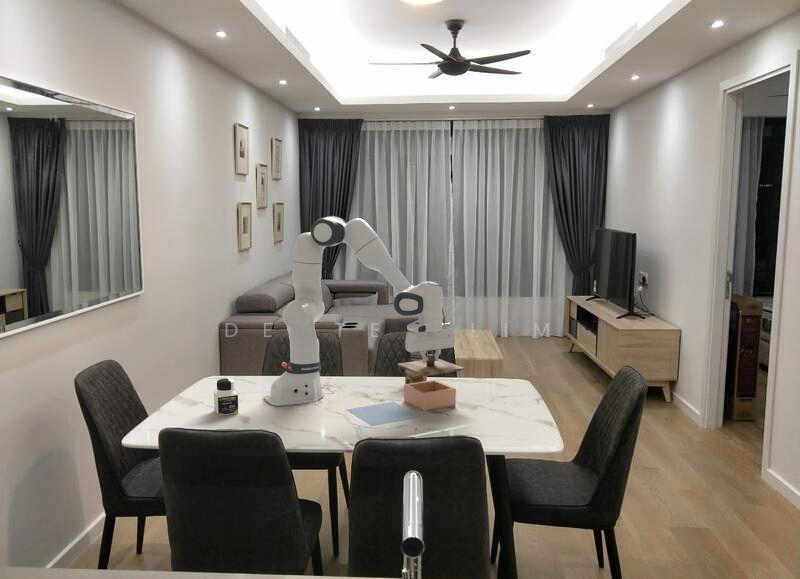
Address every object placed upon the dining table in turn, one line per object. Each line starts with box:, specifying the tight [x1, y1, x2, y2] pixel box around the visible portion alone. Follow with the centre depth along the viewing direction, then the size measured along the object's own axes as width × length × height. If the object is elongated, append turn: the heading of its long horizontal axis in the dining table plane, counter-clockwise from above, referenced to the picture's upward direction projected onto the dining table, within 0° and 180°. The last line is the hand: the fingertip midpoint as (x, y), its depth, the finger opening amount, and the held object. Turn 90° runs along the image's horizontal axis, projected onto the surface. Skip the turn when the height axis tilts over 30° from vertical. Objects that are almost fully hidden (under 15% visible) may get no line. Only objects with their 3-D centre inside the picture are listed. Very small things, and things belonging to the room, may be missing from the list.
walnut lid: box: [397, 353, 465, 377], centre depth 242 cm, size 18×18×5 cm
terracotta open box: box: [403, 379, 457, 412], centre depth 244 cm, size 14×14×7 cm
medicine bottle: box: [213, 377, 239, 417], centre depth 233 cm, size 7×7×12 cm
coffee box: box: [404, 349, 429, 385], centre depth 268 cm, size 9×6×16 cm
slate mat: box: [346, 401, 423, 427], centre depth 232 cm, size 20×20×1 cm
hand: (430, 361), depth 242 cm, fingers closed on walnut lid, 3 cm apart
